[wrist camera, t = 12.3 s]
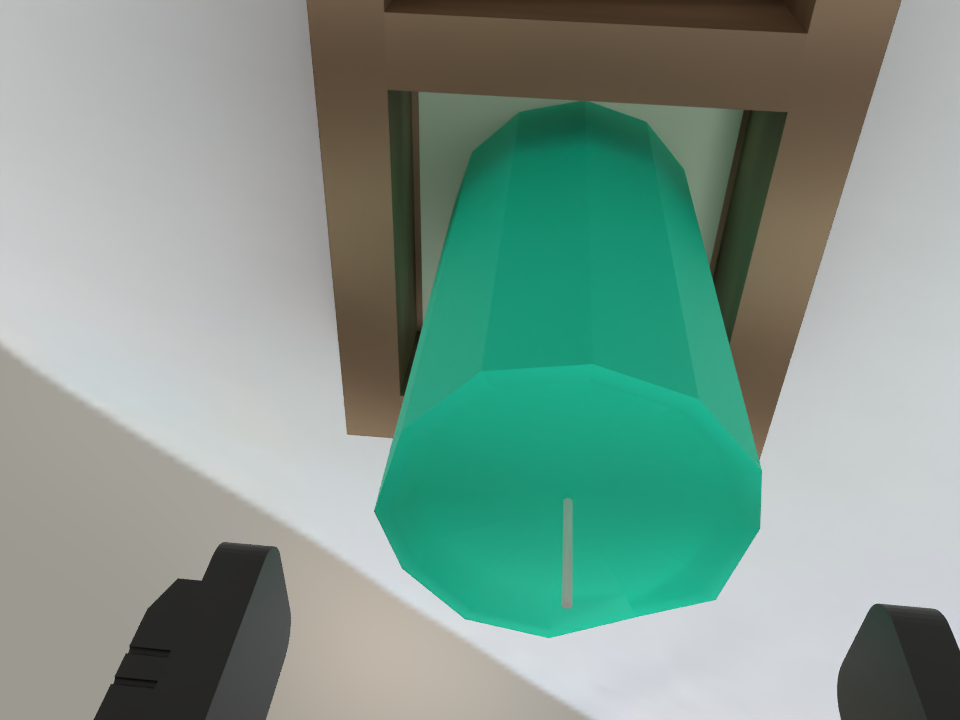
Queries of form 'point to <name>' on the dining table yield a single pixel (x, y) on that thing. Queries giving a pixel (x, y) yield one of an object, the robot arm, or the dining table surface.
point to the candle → (572, 390)
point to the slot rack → (612, 84)
